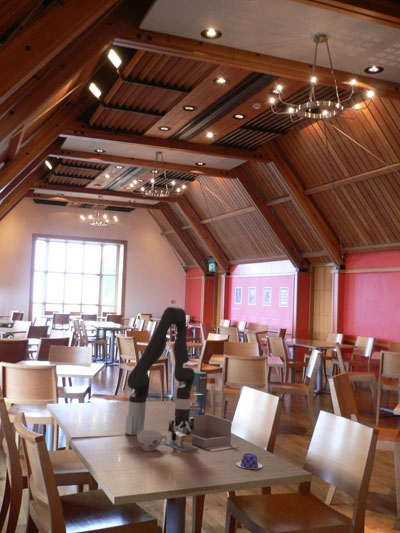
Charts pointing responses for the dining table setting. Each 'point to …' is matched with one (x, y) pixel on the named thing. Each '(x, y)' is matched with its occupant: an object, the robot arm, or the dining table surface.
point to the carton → (211, 433)
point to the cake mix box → (199, 386)
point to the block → (181, 440)
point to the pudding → (249, 461)
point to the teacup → (150, 439)
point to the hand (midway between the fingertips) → (180, 439)
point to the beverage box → (195, 405)
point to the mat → (179, 447)
